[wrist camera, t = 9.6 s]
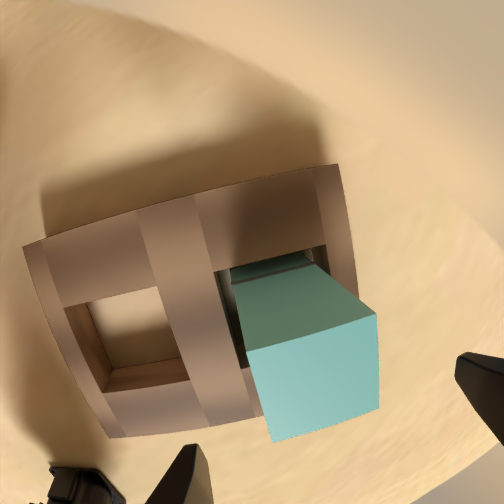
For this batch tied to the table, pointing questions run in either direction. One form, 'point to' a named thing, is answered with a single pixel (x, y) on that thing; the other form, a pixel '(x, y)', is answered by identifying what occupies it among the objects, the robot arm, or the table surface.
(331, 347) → the teal peg
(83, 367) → the walnut board
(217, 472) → the table surface
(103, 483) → the robot arm
